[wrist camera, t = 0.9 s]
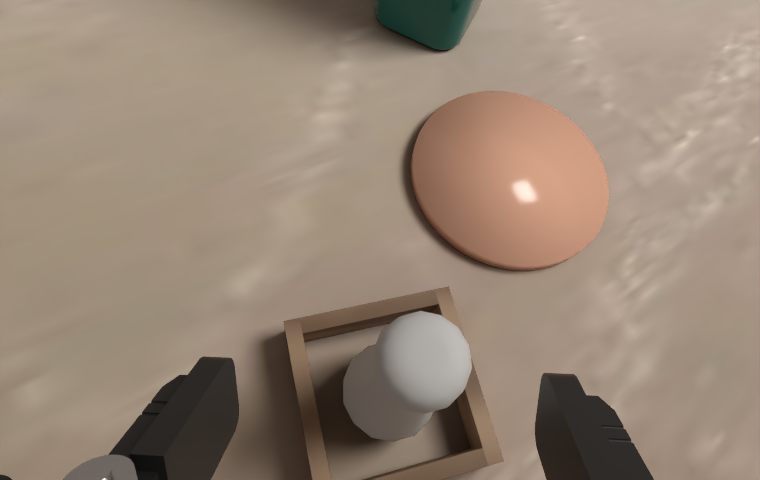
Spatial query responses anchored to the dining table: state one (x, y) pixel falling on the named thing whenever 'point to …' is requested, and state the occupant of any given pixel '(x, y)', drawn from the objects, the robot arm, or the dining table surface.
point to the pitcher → (428, 19)
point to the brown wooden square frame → (439, 301)
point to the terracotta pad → (509, 180)
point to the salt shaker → (406, 376)
